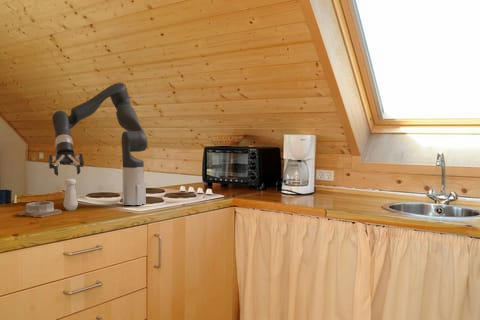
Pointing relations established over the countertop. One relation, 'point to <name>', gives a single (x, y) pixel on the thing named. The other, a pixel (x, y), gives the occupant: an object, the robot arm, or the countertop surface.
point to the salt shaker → (70, 195)
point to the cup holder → (40, 209)
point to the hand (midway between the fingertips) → (67, 173)
